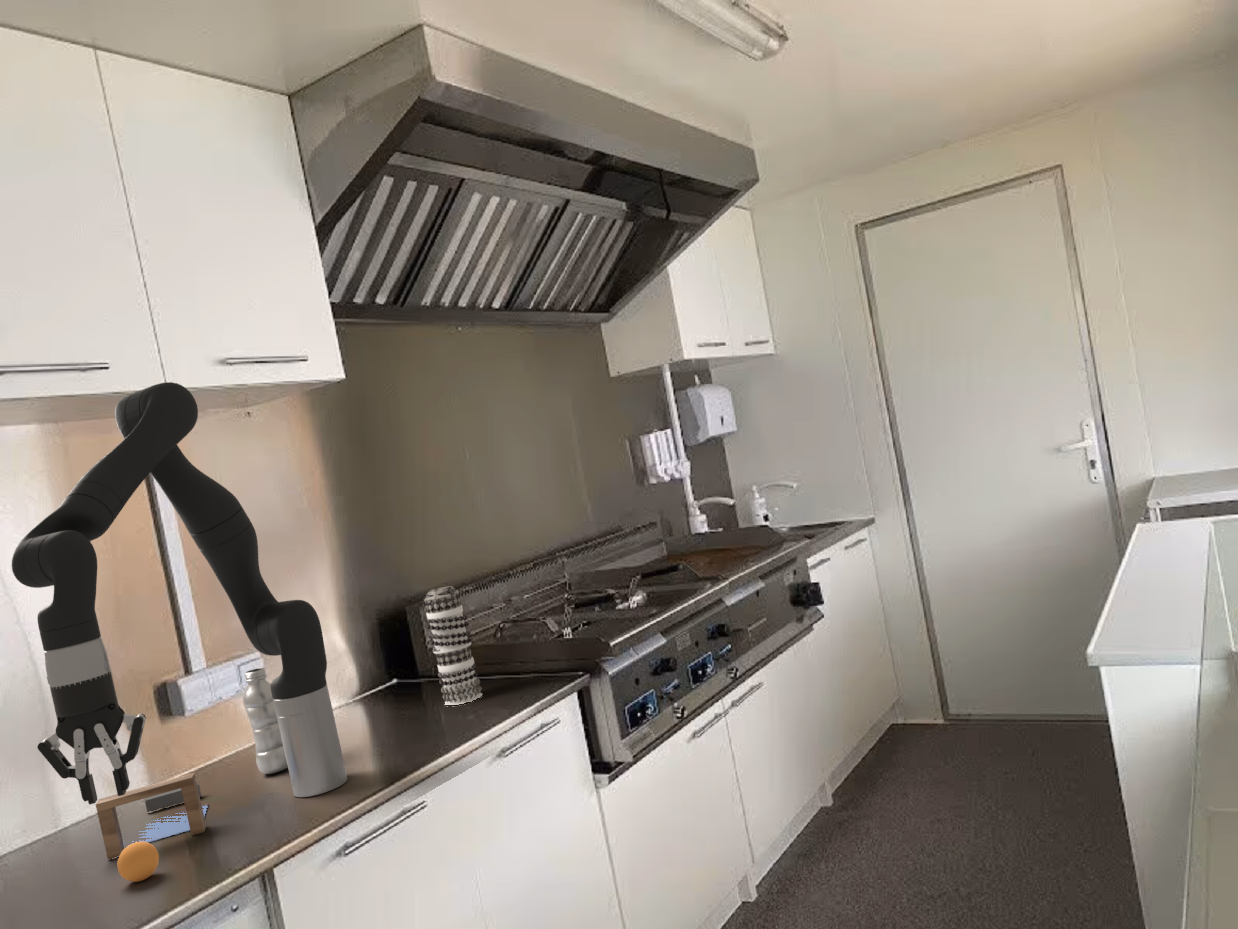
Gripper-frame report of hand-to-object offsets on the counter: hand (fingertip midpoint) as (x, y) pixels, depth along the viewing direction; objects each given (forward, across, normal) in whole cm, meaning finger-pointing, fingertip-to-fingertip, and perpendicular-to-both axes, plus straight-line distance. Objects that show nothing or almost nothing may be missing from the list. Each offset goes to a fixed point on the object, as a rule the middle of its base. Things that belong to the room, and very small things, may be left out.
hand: (107, 797), depth 137 cm
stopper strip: (+15, 0, -48) cm, 50 cm away
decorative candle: (+15, -57, -66) cm, 89 cm away
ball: (+12, 0, -10) cm, 16 cm away
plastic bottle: (+15, -18, -50) cm, 56 cm away
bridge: (+15, 0, -26) cm, 30 cm away
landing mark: (+15, 0, -34) cm, 37 cm away
